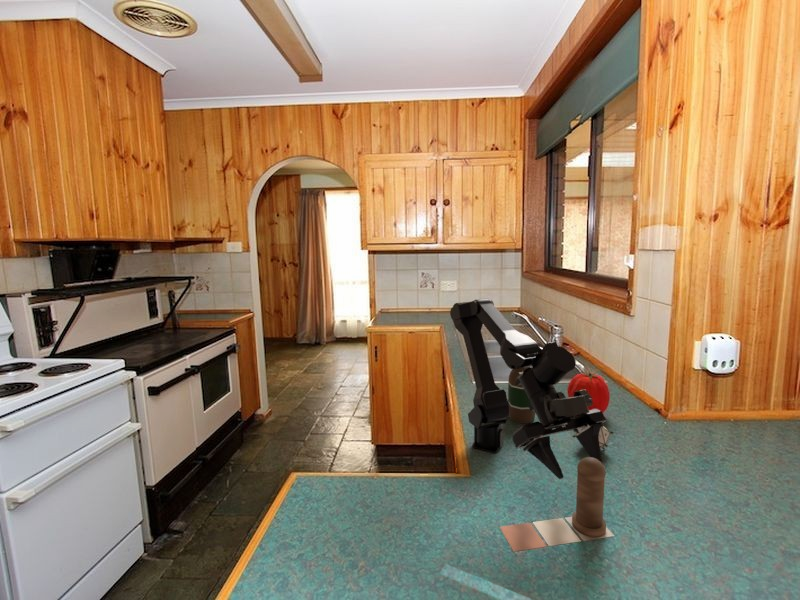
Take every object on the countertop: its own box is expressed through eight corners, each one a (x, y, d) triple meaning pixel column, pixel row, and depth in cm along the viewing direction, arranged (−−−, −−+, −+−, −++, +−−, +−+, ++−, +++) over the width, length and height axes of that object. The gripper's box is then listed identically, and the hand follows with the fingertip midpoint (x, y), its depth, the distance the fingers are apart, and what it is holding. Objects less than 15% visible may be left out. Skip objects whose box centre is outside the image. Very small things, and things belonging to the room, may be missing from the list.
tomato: (610, 411, 123) (612, 369, 121) (606, 427, 113) (608, 382, 111) (570, 403, 129) (571, 364, 127) (562, 418, 119) (564, 375, 117)
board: (512, 567, 66) (513, 561, 66) (490, 525, 76) (490, 520, 76) (627, 549, 69) (628, 543, 69) (591, 511, 79) (591, 505, 79)
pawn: (570, 531, 72) (572, 462, 70) (574, 512, 77) (576, 447, 75) (604, 541, 69) (608, 470, 67) (606, 521, 74) (610, 455, 72)
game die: (599, 465, 101) (621, 447, 94) (566, 452, 102) (585, 433, 95) (598, 435, 107) (619, 416, 100) (567, 422, 108) (585, 403, 101)
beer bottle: (535, 414, 122) (536, 337, 119) (534, 425, 115) (536, 344, 112) (508, 411, 125) (509, 336, 121) (506, 422, 118) (507, 342, 114)
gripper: (522, 383, 73) (564, 471, 65) (600, 370, 80) (649, 448, 71) (497, 408, 82) (531, 489, 73) (570, 394, 88) (610, 466, 79)
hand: (581, 472), depth 74 cm, fingers open, 9 cm apart
